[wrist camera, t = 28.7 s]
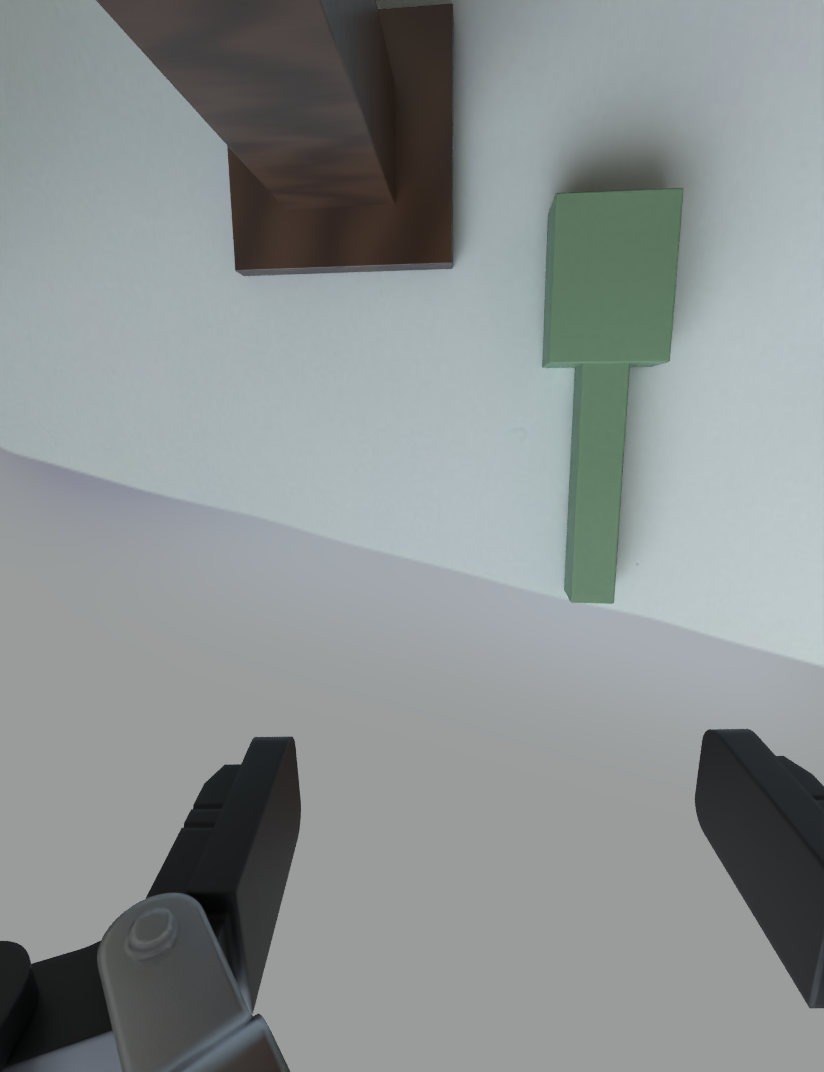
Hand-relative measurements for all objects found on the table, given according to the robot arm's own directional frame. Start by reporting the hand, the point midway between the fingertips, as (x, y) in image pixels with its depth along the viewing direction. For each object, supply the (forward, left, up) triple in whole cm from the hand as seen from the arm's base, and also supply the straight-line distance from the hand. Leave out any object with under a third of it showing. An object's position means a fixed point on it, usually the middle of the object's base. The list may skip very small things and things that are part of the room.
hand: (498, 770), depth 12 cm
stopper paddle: (+6, +7, -24) cm, 26 cm away
